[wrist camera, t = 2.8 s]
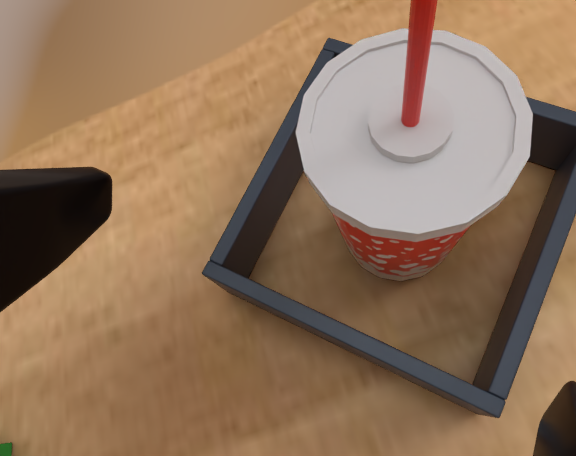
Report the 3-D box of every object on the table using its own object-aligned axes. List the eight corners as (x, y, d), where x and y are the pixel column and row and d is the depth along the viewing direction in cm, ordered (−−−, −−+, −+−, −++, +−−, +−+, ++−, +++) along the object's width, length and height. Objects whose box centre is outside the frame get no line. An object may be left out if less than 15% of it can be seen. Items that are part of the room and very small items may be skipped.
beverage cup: (446, 321, 20) (570, 184, 7) (305, 269, 22) (197, 80, 9) (490, 187, 22) (662, -133, 9) (355, 148, 23) (326, -172, 10)
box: (479, 414, 19) (499, 419, 16) (227, 291, 22) (200, 273, 19) (575, 163, 21) (610, 121, 18) (334, 84, 25) (328, 36, 21)
